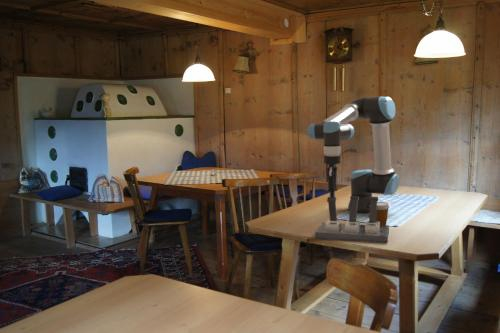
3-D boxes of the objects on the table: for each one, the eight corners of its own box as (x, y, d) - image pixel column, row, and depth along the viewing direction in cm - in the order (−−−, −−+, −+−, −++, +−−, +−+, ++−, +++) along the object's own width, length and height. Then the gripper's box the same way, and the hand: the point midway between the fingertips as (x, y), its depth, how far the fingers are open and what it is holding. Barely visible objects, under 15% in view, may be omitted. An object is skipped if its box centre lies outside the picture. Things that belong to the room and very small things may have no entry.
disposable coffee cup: (390, 230, 230) (390, 205, 228) (369, 229, 232) (369, 205, 230) (388, 225, 239) (388, 201, 238) (368, 224, 241) (369, 201, 240)
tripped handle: (329, 218, 227) (327, 197, 220) (337, 219, 226) (336, 197, 219) (329, 221, 225) (327, 200, 218) (337, 222, 224) (335, 200, 217)
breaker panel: (322, 228, 237) (322, 216, 236) (389, 232, 226) (389, 219, 226) (315, 238, 220) (315, 225, 219) (387, 243, 210) (387, 229, 209)
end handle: (368, 223, 220) (369, 198, 227) (376, 224, 219) (378, 199, 226) (368, 221, 219) (369, 196, 225) (376, 222, 217) (377, 196, 224)
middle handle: (348, 222, 223) (350, 198, 230) (356, 223, 222) (358, 198, 229) (348, 220, 221) (350, 195, 228) (356, 221, 220) (358, 196, 227)
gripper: (326, 153, 226) (326, 201, 229) (321, 156, 214) (322, 207, 217) (342, 153, 223) (342, 202, 227) (338, 156, 211) (338, 208, 215)
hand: (332, 204), depth 222 cm, fingers closed
